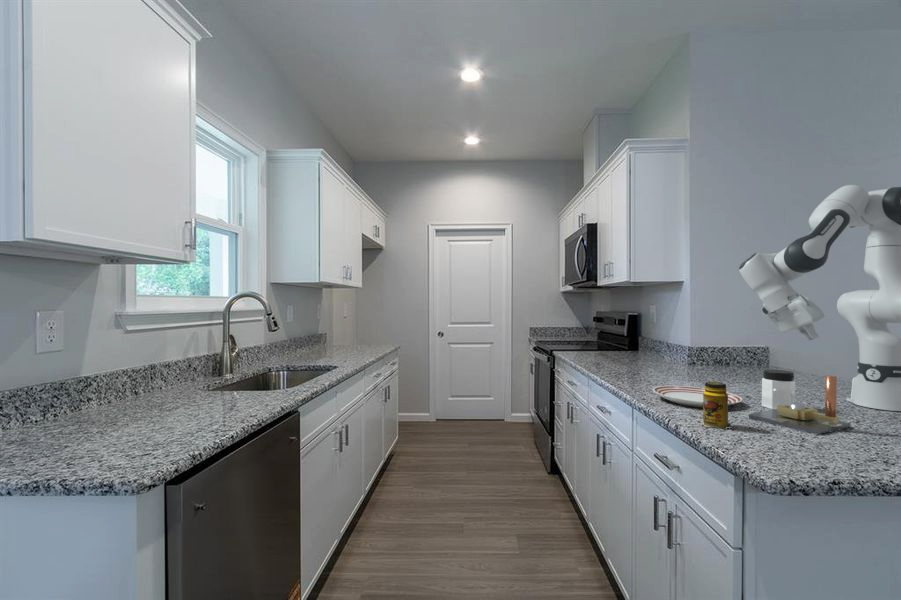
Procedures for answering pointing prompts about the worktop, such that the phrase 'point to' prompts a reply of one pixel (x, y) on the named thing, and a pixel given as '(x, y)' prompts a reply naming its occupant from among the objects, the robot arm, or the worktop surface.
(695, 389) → the dinner plate
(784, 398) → the jar
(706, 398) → the condiment
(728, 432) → the worktop surface
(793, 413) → the copper and beige l-shape
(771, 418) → the post base
